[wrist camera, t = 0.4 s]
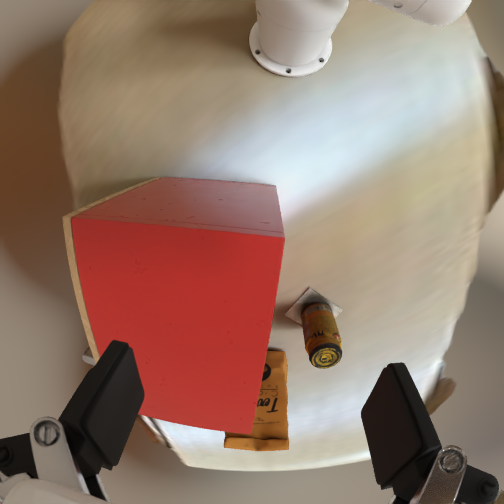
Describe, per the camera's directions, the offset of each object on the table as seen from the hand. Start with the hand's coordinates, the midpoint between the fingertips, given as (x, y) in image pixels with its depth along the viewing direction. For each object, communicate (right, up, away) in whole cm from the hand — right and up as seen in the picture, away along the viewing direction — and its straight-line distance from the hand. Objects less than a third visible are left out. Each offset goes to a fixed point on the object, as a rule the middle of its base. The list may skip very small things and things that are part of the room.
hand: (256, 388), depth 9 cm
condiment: (+11, -6, +42) cm, 44 cm away
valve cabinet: (-7, +4, +38) cm, 39 cm away
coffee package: (+1, -18, +47) cm, 51 cm away
